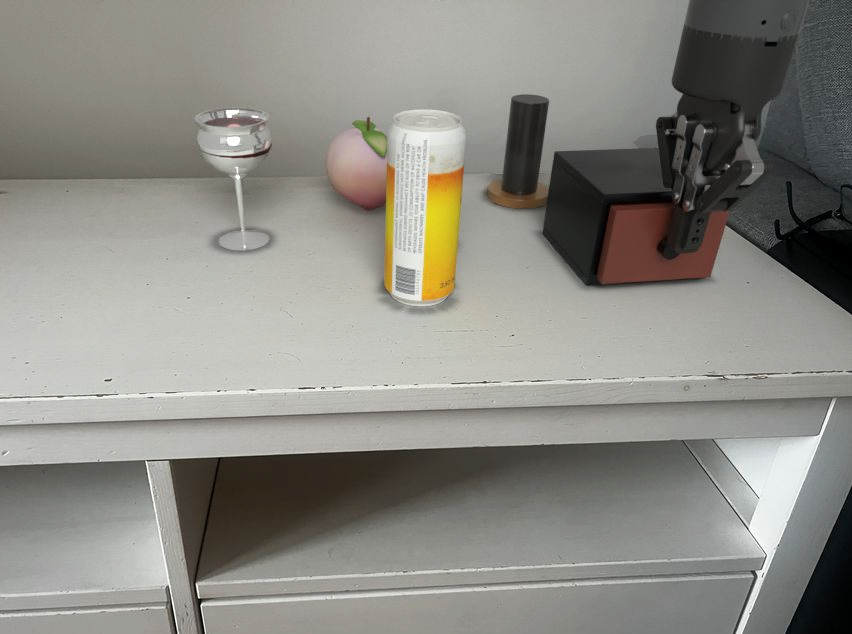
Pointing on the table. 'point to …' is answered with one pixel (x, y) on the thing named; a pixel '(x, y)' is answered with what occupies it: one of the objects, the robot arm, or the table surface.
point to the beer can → (423, 205)
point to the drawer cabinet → (596, 200)
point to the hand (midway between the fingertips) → (681, 249)
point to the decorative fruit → (359, 164)
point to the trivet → (517, 196)
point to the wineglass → (235, 158)
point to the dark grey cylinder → (524, 144)
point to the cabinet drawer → (653, 245)
